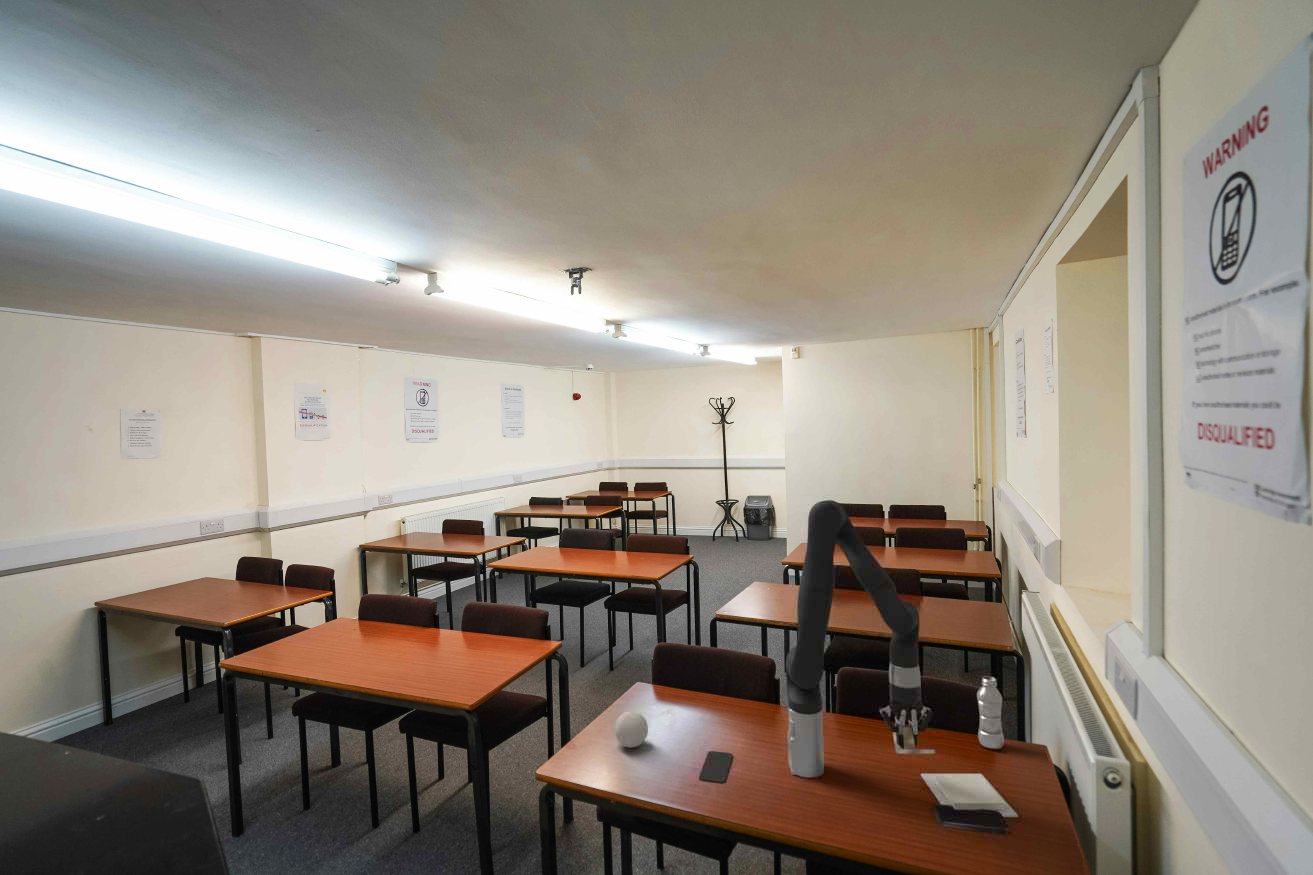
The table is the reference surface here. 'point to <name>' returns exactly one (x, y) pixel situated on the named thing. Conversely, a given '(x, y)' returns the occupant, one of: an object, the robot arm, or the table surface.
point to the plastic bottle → (990, 714)
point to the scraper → (909, 744)
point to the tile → (969, 792)
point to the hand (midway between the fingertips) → (907, 746)
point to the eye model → (631, 729)
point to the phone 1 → (716, 767)
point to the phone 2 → (971, 819)
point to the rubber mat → (943, 800)
